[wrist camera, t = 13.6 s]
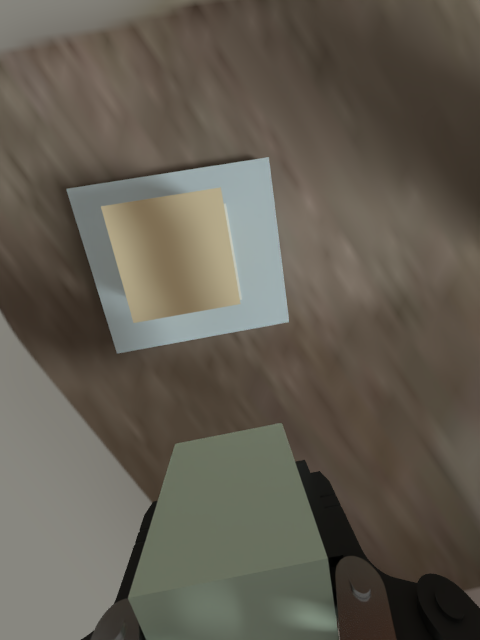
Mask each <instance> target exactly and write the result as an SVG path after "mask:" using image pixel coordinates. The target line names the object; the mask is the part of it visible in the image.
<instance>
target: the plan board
mask: <svg viewBox="0 0 480 640" xmlns="http://www.w3.org/2000/svg"><path fill="white" fill-rule="evenodd" d="M220 187H221V191H222V197H223V203H224V209H225V215H226V221H227V227H228V232H229V238H230V244H231V250H232V256H233V262H234V268H235V274H236V280H237V286H238V292H239V298H240V303H241V304H238V305H232V306H227V307H221V308H215V309H210V310H204V311H199V312H193V313H187V314H182V315H176V316H171V317H165V318H159V319H154V320H148V321H143V322H137V323H133V319H132V316H131V312H130V309H129V305H128V302H127V298H126V294H125V291H124V287H123V284H122V280H121V277H120V273H119V270H118V266H117V262H116V259H115V255H114V252H113V248H112V245H111V241H110V238H109V234H108V230H107V227H106V223H105V220H104V216H103V213H102V209H101V206H106V205H113V204H119V203H125V202H132V201H138V200H144V199H151V198H157V197H163V196H170V195H176V194H182V193H189V192H195V191H201V190H207V189H214V188H220ZM66 190H67V193H68V197H69V200H70V203H71V206H72V210H73V213H74V216H75V219H76V222H77V226H78V229H79V232H80V235H81V239H82V242H83V245H84V248H85V252H86V255H87V258H88V261H89V264H90V268H91V271H92V274H93V277H94V281H95V284H96V287H97V290H98V294H99V297H100V300H101V303H102V306H103V310H104V313H105V316H106V319H107V323H108V326H109V329H110V332H111V336H112V339H113V342H114V345H115V349H116V352H117V354H118V353H123V352H129V351H134V350H139V349H145V348H150V347H156V346H161V345H167V344H172V343H177V342H183V341H188V340H194V339H199V338H205V337H210V336H215V335H221V334H226V333H232V332H237V331H242V330H248V329H253V328H259V327H264V326H270V325H275V324H280V323H286V322H289V317H288V309H287V300H286V292H285V284H284V276H283V268H282V260H281V252H280V244H279V236H278V228H277V220H276V212H275V204H274V196H273V188H272V180H271V172H270V164H269V157H267V158H261V159H254V160H248V161H241V162H235V163H229V164H222V165H216V166H209V167H203V168H197V169H190V170H184V171H177V172H171V173H165V174H158V175H152V176H145V177H139V178H133V179H126V180H120V181H113V182H107V183H101V184H94V185H88V186H81V187H75V188H69V189H66Z"/></svg>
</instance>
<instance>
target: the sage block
mask: <svg viewBox="0 0 480 640" xmlns="http://www.w3.org/2000/svg"><path fill="white" fill-rule="evenodd" d="M128 600H129V602H130V604H131V606H132V609H133V611H134V613H135V615H136V618H137V620H138V622H139V625H140V627H141V629H142V631H143V634H144V636H145V638H146V640H339V636H338V629H337V622H336V615H335V607H334V600H333V593H332V585H331V578H330V571H329V563H328V557H327V555H326V552H325V549H324V546H323V543H322V540H321V537H320V534H319V531H318V528H317V525H316V522H315V519H314V516H313V513H312V510H311V507H310V505H309V502H308V499H307V496H306V493H305V490H304V487H303V484H302V481H301V478H300V475H299V472H298V469H297V466H296V463H295V460H294V457H293V454H292V452H291V449H290V446H289V443H288V440H287V437H286V434H285V431H284V428H283V425H282V423H279V424H274V425H269V426H264V427H259V428H254V429H249V430H244V431H239V432H234V433H228V434H223V435H218V436H213V437H208V438H203V439H198V440H193V441H188V442H183V443H178V444H175V447H174V450H173V453H172V456H171V460H170V463H169V466H168V469H167V473H166V476H165V479H164V482H163V486H162V489H161V492H160V495H159V499H158V502H157V505H156V508H155V512H154V515H153V518H152V521H151V525H150V528H149V531H148V534H147V538H146V541H145V544H144V547H143V551H142V554H141V557H140V560H139V564H138V567H137V570H136V573H135V577H134V580H133V583H132V586H131V590H130V593H129V596H128Z"/></svg>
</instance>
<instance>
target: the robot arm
mask: <svg viewBox="0 0 480 640" xmlns="http://www.w3.org/2000/svg"><path fill="white" fill-rule="evenodd" d="M295 463H296V466H297V469H298V472H299V475H300V478H301V481H302V484H303V487H304V490H305V493H306V496H307V499H308V502H309V505H310V507H311V510H312V513H313V516H314V519H315V522H316V525H317V528H318V531H319V534H320V537H321V540H322V543H323V546H324V549H325V552H326V555H327V557H328V563H329V571H330V578H331V585H332V593H333V600H334V607H335V613H336V617H337V620H338V623H339V635H340V640H480V608H479V607H478V606H477V605H476V604H475V603H474V602H473V601H472V600H471V598H470V597H469V596H468V595H467V594H466V593H465V592H464V591H463V590H462V589H461V588H460V587H458V586H457V585H456V584H455V583H453V582H452V581H450V580H449V579H447V578H445V577H443V576H440V575H437V574H425V575H423V576H422V577H421V578H420V579H419V581H418V583H414V582H410V581H406V580H402V579H398V578H394V577H391V576H389V575H386V574H385V573H383V572H381V571H380V570H379V569H377V568H376V567H375V566H374V565H373V564H372V563H371V562H370V561H369V560H368V559H367V557H366V556H365V554H364V553H363V551H362V549H361V547H360V545H359V543H358V541H357V538H356V536H355V534H354V532H353V530H352V528H351V526H350V524H349V522H348V520H347V517H346V515H345V513H344V511H343V509H342V507H341V506H340V503H339V501H338V499H337V496H336V495H335V492H334V490H333V488H332V486H331V484H330V482H329V480H328V479H327V478H326V477H325V476H324V475H323V474H322V473H321V472H320V471H319V472H313V473H310V471H309V469H308V466H307V464H306V462H305V460H302V461H296V462H295ZM157 502H158V501H154V502H153V503H152V505H151V506H150V508H149V509H148V511H147V512H146V514H145V515H144V518H143V521H142V524H141V527H140V532H139V533H138V536H137V539H136V544H135V545H134V548H133V551H132V554H131V557H130V560H129V563H128V566H127V569H126V571H125V575H124V577H123V580H122V583H121V586H120V589H119V592H118V595H117V598H116V600H115V603H114V604H113V605H112V606H111V607H110V608H109V609H108V610H107V611H106V612H105V614H104V615H103V616H102V618H101V619H100V621H99V622H98V624H97V626H96V628H95V630H94V631H93V632H91V633H90V634H89V635H87V636H86V637H84V638H83V639H81V640H146V638H145V636H144V634H143V631H142V629H141V627H140V625H139V622H138V620H137V618H136V615H135V613H134V611H133V609H132V606H131V604H130V602H129V600H128V596H129V593H130V590H131V586H132V583H133V580H134V577H135V573H136V570H137V567H138V564H139V560H140V557H141V554H142V551H143V547H144V544H145V541H146V538H147V534H148V531H149V528H150V525H151V521H152V518H153V515H154V512H155V508H156V505H157Z"/></svg>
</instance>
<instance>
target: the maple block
mask: <svg viewBox="0 0 480 640" xmlns="http://www.w3.org/2000/svg"><path fill="white" fill-rule="evenodd" d="M101 209H102V213H103V216H104V220H105V223H106V227H107V230H108V234H109V238H110V241H111V245H112V248H113V252H114V255H115V259H116V262H117V266H118V270H119V273H120V277H121V280H122V284H123V287H124V291H125V294H126V298H127V302H128V305H129V309H130V312H131V316H132V319H133V323H137V322H143V321H148V320H154V319H159V318H165V317H171V316H176V315H182V314H187V313H193V312H199V311H204V310H210V309H215V308H221V307H227V306H232V305H238V304H241V303H240V298H239V292H238V286H237V280H236V274H235V268H234V262H233V256H232V250H231V244H230V238H229V232H228V227H227V221H226V215H225V209H224V203H223V197H222V191H221V187H220V188H214V189H207V190H201V191H195V192H189V193H182V194H176V195H170V196H163V197H157V198H151V199H144V200H138V201H132V202H125V203H119V204H113V205H106V206H101Z"/></svg>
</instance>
